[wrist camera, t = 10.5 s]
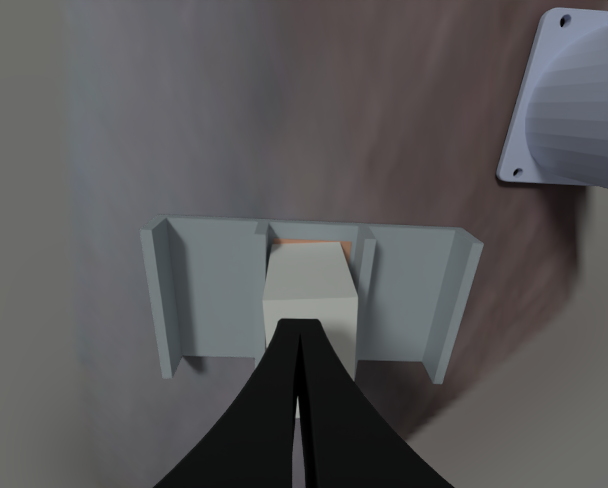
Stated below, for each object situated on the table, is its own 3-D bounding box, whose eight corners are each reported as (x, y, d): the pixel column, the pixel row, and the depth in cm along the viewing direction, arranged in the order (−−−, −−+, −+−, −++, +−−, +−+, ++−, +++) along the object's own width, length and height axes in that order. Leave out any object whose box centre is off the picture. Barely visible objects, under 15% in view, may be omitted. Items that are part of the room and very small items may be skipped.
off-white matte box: (339, 241, 19) (358, 297, 13) (337, 337, 22) (352, 415, 16) (271, 244, 19) (262, 300, 13) (278, 339, 22) (273, 419, 16)
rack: (461, 227, 19) (483, 243, 17) (427, 356, 23) (442, 383, 21) (158, 214, 19) (139, 229, 16) (176, 350, 23) (162, 378, 20)
